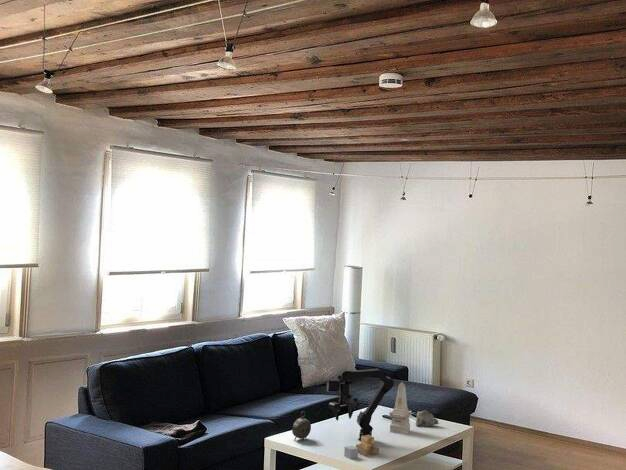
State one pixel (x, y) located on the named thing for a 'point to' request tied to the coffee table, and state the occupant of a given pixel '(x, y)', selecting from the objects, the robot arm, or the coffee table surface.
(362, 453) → the walnut block
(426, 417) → the mineral rock
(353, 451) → the grey cube
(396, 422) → the miniature monument
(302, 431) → the alarm clock
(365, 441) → the oak cube
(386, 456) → the coffee table surface
